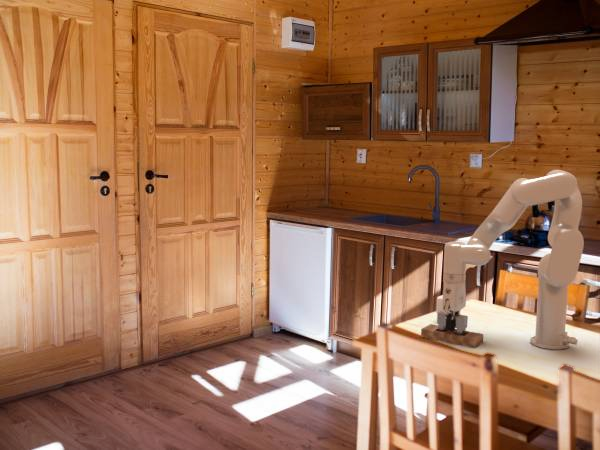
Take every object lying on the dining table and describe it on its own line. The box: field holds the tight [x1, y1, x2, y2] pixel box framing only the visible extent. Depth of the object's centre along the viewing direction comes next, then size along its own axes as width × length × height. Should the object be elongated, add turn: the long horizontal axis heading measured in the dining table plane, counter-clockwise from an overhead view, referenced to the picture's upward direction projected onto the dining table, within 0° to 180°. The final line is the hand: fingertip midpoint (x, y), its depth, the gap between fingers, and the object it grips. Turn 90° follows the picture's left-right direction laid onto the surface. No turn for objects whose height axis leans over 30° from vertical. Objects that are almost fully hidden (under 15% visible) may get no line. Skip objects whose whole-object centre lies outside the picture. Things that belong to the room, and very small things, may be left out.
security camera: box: [435, 294, 451, 314], centre depth 263 cm, size 6×7×10 cm
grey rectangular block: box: [436, 311, 469, 336], centre depth 242 cm, size 10×3×8 cm, turn 54°
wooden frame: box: [420, 323, 484, 349], centre depth 243 cm, size 20×8×3 cm, turn 54°
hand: (452, 328), depth 242 cm, fingers closed on grey rectangular block, 3 cm apart
